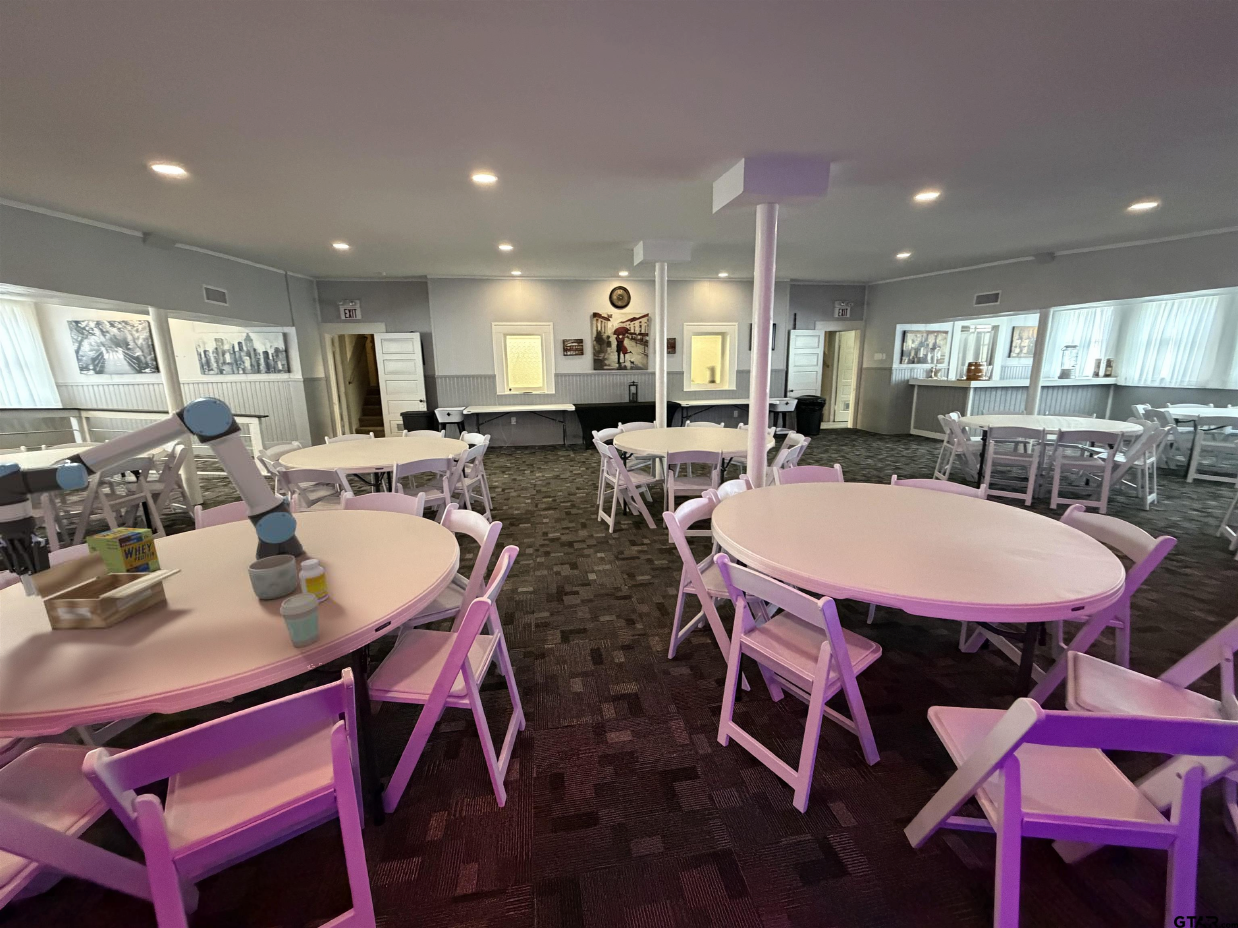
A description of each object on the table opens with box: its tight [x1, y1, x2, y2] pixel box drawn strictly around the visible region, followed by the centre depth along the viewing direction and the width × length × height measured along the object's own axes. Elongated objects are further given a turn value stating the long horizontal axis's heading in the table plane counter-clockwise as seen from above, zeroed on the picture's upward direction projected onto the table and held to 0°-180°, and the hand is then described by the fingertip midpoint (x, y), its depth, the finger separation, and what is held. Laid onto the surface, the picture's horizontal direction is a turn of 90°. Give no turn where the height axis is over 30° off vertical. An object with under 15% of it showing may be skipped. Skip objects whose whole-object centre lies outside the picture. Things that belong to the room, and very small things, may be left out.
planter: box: [247, 555, 298, 600], centre depth 154 cm, size 12×12×11 cm
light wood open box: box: [43, 569, 182, 631], centre depth 144 cm, size 23×18×10 cm
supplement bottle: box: [298, 558, 329, 604], centre depth 148 cm, size 7×7×13 cm
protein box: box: [85, 527, 161, 578], centre depth 173 cm, size 10×15×16 cm
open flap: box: [30, 551, 109, 599], centre depth 142 cm, size 7×17×7 cm
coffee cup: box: [279, 593, 320, 648], centre depth 126 cm, size 8×8×12 cm
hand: (37, 593), depth 139 cm, fingers closed on open flap, 2 cm apart
